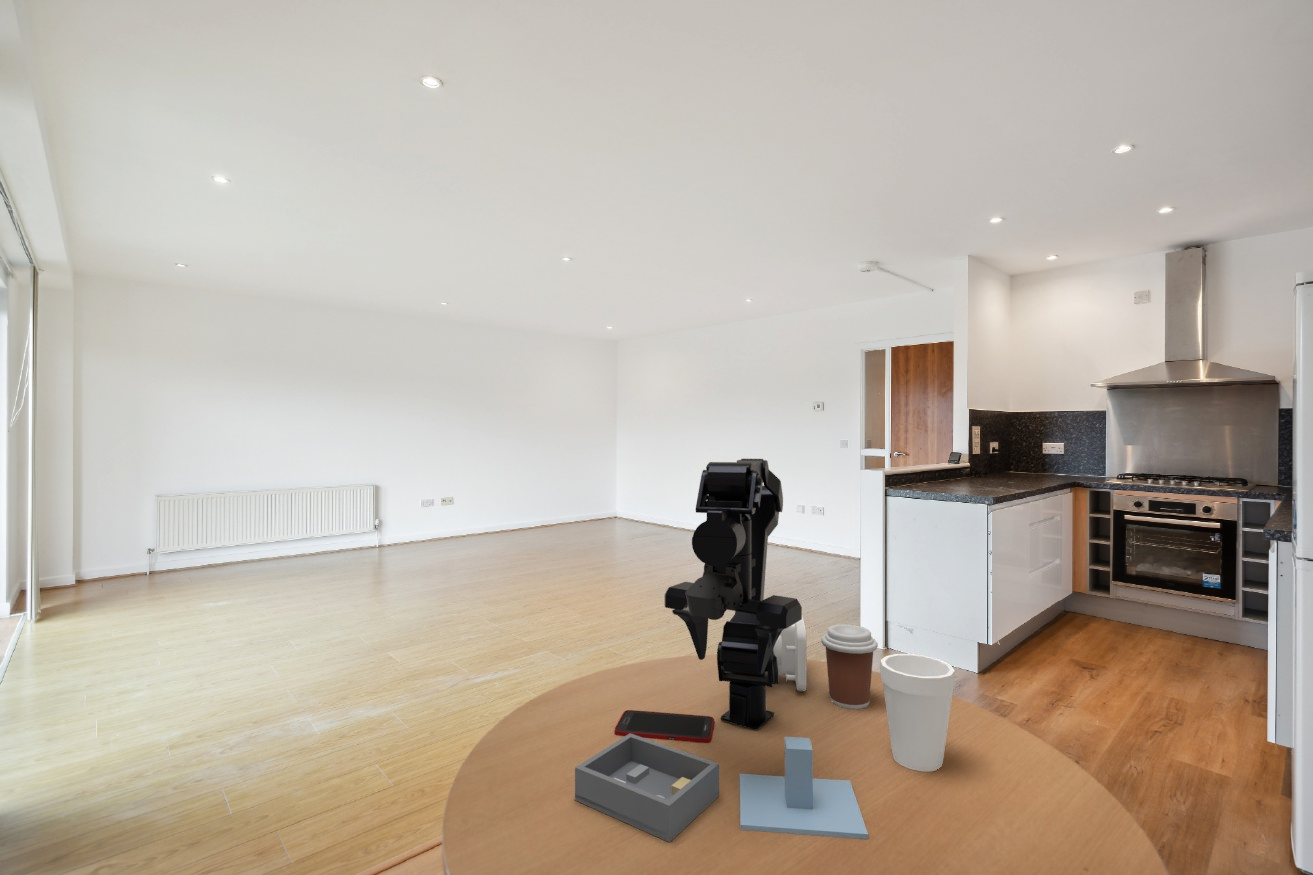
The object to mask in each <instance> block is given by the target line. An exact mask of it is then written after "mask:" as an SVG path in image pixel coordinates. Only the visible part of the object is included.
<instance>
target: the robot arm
mask: <svg viewBox="0 0 1313 875" xmlns="http://www.w3.org/2000/svg"><path fill="white" fill-rule="evenodd" d="M768 462H769V461H768V460H766V459H764V458H741V459H737V460H736V462H735V461H734V462H733V461H732V462H731V461H715V462H714V461H710V462H708V463H707V464H706V467H705V469H702V471H701V476H700V481H699V487H698V493H697V500H696V504H695V513H698V514H699V513H701V514H706V520H705V521H703V522H702V523H700V524H699V525H698V526H696V528H695V530H694V532H693V535H692V538H691V547H692V551H693V553H694V554H695V556H696V558H697V559H699V561H701V563H703V564H704V565H703V572H702V576H701V577H699V578H697V579H696V580H695V581H694V582H690V581H683V582H680V583H677V584H674V585H671V586H668V588H667V589H666V590H665V593H664V608H667V609H671V610H672V611H671V612H672V614H673V615H674V616H678V617H679V619H681V620H682V621H683V622H684V623H685V625H686V627H687V630H688V632H689V634H690V637H691V641H692V644H693V646H694V648H695V653H696V655H697V658H698V660H700V661H703V660H705V659H706V655H707V654H706V653H707V646H708V630H709V620H712V621H716V620H720V619H721V618H723V616H724V615H725V612H726V611H727V610H728V611H732V612H734V615H733V616H732V618H731V619H730V620H726V622H725V623H724V625H723V629H722V636H721V641H719V642H718V644H717V650H716V664H717V674H718V676H717V677H718V681H719V682H727V683H728V682H729V684H728V685H729V686H728V687H729V689H728V690H729V695H728V697H729V698H728V700H729V701H728V705H729V706H728V710H727V711H726V712H724V713H723V714H722V715H721V716H720V720H721V721H724V722H727V723H731V724H734V725H736V726H737V725H738V726H741V727H744V728H748V729H750V730H754V731H758V730H760V729H761V728H762V727H763V726H764V725H766V724H767V723H768V722H769V721H770V720H772V719H773V718H774V717H775V712H774V711H770V710H767V694H766V692H767V687H768V688H773V687H774V685H777V684H779V683H780V682H779V680H780V679H779V678H780V677H779V676H780V675H779V671H778V662H777V657H776V656H775V654H774V650H773V648H774V646H775V643H776V641H777V639H778V637H779V636H780V634H781V632H782V630H784V629H786V628H788V627H790V626H791V625H793V624H795V623H796V622H798V621H800V620H801V619H802V615H803V611H802V610H803V609H802V605H801V603H800V602H799V600H798V599H797V598H794V597H788V596H783V595H781V596H780V595H777V594H776V595H775V594H774V595H771V596H769V597H767V598H765V599H764V595H765V586H766V585H765V584H766V583H765V582H766V569H767V556H768V555H767V553H768V542H769V537H770V535H771V534H772V533H773V531H774V530H775V529H776V528H777V527H778V525H779V518H780V513H783V510H784V508H783V507H784V495H783V494H784V493H783V489H782V488H783V487H782V481H781V479H780V478H778V476H777V475H775V473H774V472H772V470H770V468H769V463H768Z"/></svg>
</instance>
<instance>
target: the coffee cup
mask: <svg viewBox="0 0 1313 875" xmlns="http://www.w3.org/2000/svg"><path fill="white" fill-rule="evenodd" d="M821 644H822V646H823V647H825V656H826V658H825V659H826V667H827V669H826V670H827V678H828V679H827V680H828V690H829V693H828V694H829V700H830V699H831V701H833V703H835V704H836V705H835V704H834V705H835V706H837V705H838V706H837V707H840V706H841V707H840V708H843V709H849V710H862V709H865V708H867V707H869V706H868V705H870V699H871V698H870V697H871V686H872V685H871V683H872V674H873V673H872V672H873V661H874V652H875V651H876V650H878V647H879V646H878V644H879V643H878V641H877V640H876V639H875V638H873V636H872V632H871V631H870V630H869V629H868V628H866V627H863V626H861V625H854V624H848V623H847V624H845V623H844V624H842V623H841V624H834V625H831V626H829V627H828V628H827V632H826V633H825V634H824V635H823V636H822V637H821ZM831 701H830V702H831ZM833 703H832V704H833Z"/></svg>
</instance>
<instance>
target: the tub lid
mask: <svg viewBox="0 0 1313 875" xmlns="http://www.w3.org/2000/svg"><path fill="white" fill-rule="evenodd" d="M813 751H814V750H813V745H812V742H811V739H810V737H798V736H797V737H796V736H784V776H783V775H782V776H781V775H769V774H768V775H766V774H751V773H739V814H740V815H739V816H740V818H739V821H740V822H739V824H740V825H739V826H740V830H742V831H756V832H765V833H767V832H768V833H781V834H794V835H795V834H796V835H807V836H821V837H832V838H833V837H834V838H845V839H846V838H847V839H856V840H857V839H859V840H869V833H868V829H867V827H866V825H865V821H864V819H863V815H862V812H861V809H860V806H859V803H858V801H857V797H856V794H855V792H854V789H853V786H852V782H851V780H843V779H829V778H828V779H827V778H826V779H825V778H815V777H813V776H814V774H813V773H814V772H813V767H814V764H813V761H814V759H813V758H814V757H813V756H814V755H813Z"/></svg>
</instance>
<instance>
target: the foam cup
mask: <svg viewBox="0 0 1313 875" xmlns="http://www.w3.org/2000/svg"><path fill="white" fill-rule="evenodd" d="M955 678H956V671H955V669H954V667H953V666H952V665H951V664H949V663H948V662H946V661H943V660H942V659H939V658H936V657H931V656H929V655H928V656H927V655H921V654H912V653H894V654H890V655H885V656H884V657H883V658H881V659H880V679H881V682H882V686H883V693H884V694H883V695H884V701H885V708H886V714H887V715H886V716H887V725H888V730H889V739H890V746H891V751H892V756H893V760H894V761H895V762H896V763H898V764H899V765H900V766H902V767H904V768H907V769H909V770H912V771H916V772H925V773H926V772H934V771H938V770H940V769H941V768H942V766H943V765H942V764H943V761H944V758H945V749H946V742H947V737H948V735H947V734H948V729H949V728H948V727H949V722H950V713H951V707H952V699H953V694H954V693H953V691H955V689H956V679H955ZM940 767H941V768H940ZM939 768H940V769H939ZM937 769H938V770H937Z"/></svg>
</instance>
